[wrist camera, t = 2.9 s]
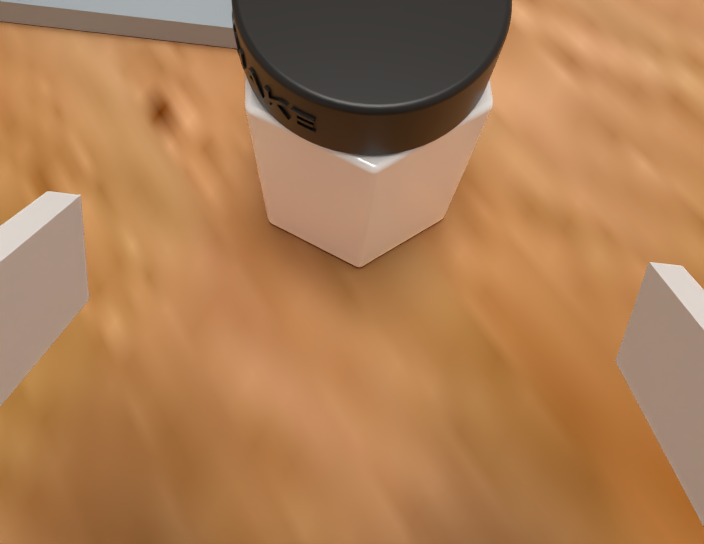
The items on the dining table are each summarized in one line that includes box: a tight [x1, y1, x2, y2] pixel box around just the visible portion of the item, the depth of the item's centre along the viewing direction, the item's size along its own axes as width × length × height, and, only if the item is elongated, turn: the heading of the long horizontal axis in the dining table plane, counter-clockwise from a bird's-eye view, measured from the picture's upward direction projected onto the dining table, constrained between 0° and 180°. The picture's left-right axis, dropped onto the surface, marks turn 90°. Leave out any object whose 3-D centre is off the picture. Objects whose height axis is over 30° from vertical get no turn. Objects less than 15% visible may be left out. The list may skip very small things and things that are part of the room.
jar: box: [231, 0, 512, 267], centre depth 25 cm, size 9×8×12 cm
